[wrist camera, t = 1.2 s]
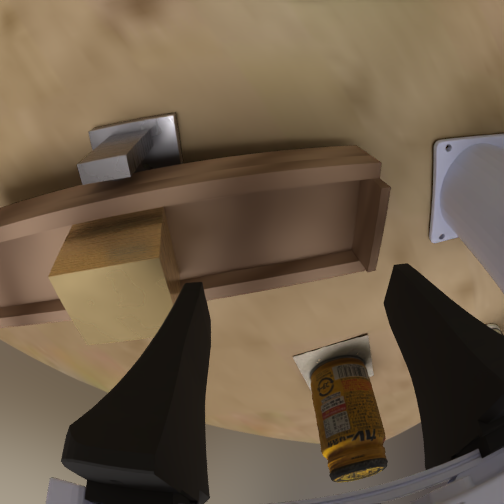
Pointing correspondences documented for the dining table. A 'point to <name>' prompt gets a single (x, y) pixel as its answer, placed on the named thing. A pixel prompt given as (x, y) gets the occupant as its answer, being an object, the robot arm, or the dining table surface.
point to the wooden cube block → (118, 276)
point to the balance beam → (212, 224)
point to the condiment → (345, 408)
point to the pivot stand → (131, 148)
